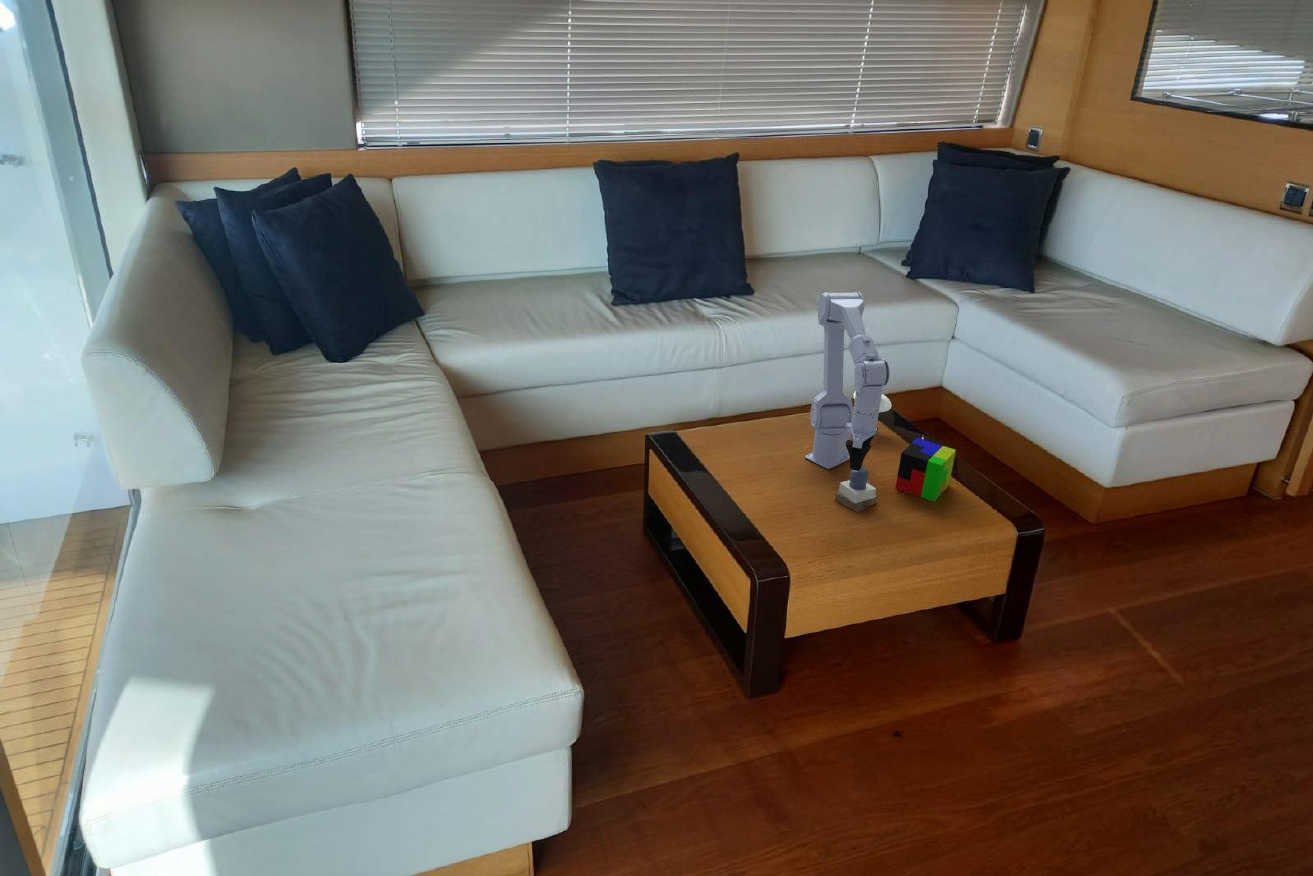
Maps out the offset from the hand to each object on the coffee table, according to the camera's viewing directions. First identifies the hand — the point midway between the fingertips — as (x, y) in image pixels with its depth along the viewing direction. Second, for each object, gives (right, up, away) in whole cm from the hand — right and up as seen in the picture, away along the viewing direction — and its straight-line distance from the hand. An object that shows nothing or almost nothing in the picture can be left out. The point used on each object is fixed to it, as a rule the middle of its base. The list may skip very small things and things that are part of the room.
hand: (858, 462), depth 219 cm
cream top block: (0, -8, +3) cm, 9 cm away
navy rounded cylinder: (0, -6, +2) cm, 6 cm away
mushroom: (+11, +8, +39) cm, 42 cm away
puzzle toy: (+18, -7, +12) cm, 23 cm away
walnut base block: (0, -10, +5) cm, 11 cm away
